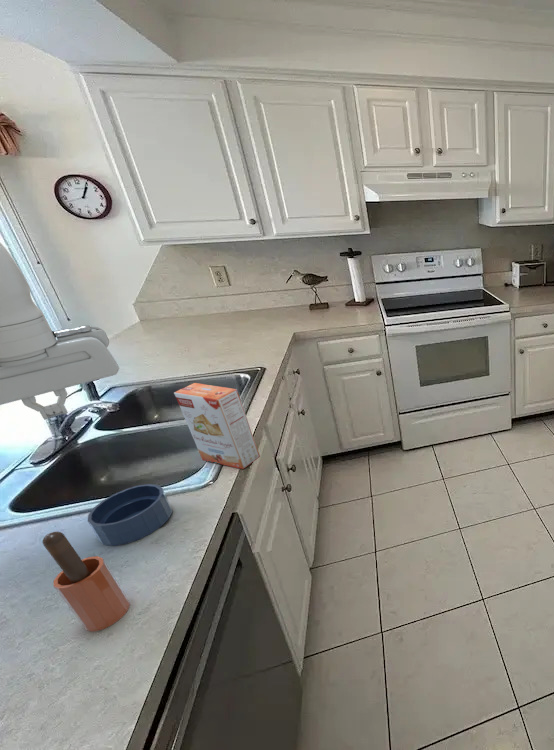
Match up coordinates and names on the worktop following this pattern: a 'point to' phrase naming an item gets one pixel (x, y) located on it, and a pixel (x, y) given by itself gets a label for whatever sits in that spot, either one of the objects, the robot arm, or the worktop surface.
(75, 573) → the stick
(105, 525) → the bowl
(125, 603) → the crock
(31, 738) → the worktop surface
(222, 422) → the cracker box
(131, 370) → the worktop surface
